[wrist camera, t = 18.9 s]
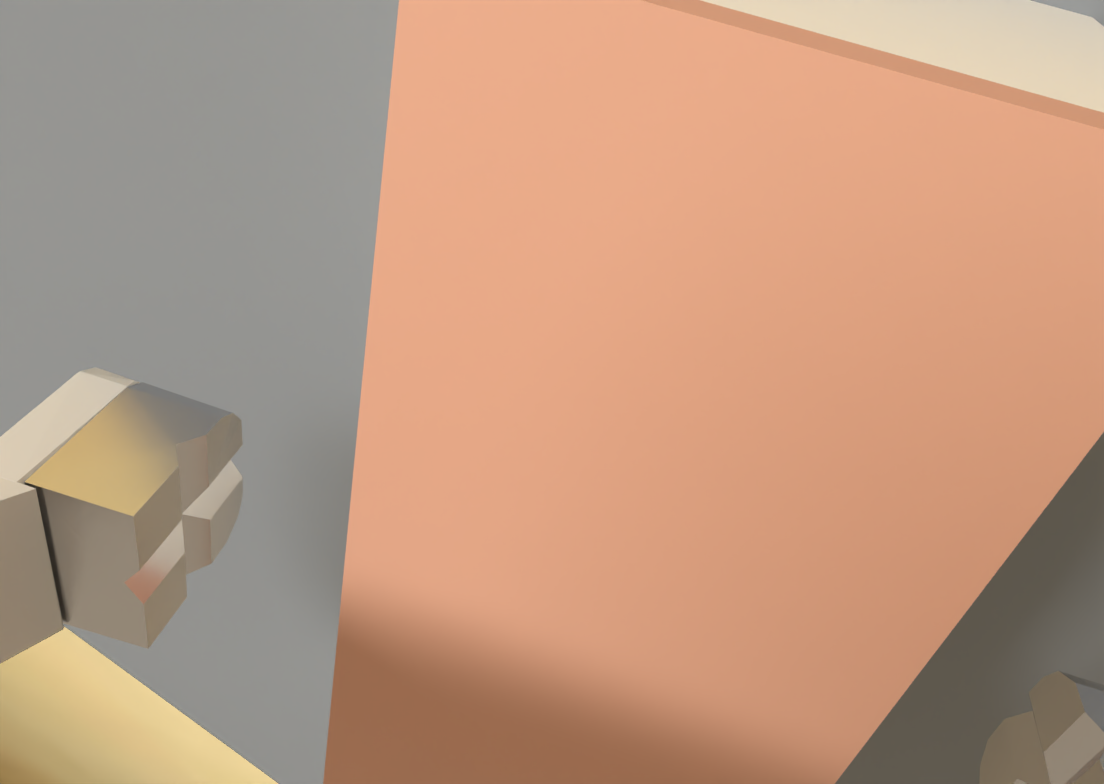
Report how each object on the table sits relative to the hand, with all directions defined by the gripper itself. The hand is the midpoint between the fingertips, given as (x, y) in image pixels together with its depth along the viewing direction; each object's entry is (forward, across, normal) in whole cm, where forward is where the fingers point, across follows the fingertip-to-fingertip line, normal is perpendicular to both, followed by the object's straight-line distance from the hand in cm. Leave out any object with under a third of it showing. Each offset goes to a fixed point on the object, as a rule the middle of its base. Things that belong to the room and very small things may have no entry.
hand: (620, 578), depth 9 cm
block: (+1, 0, +9) cm, 9 cm away
